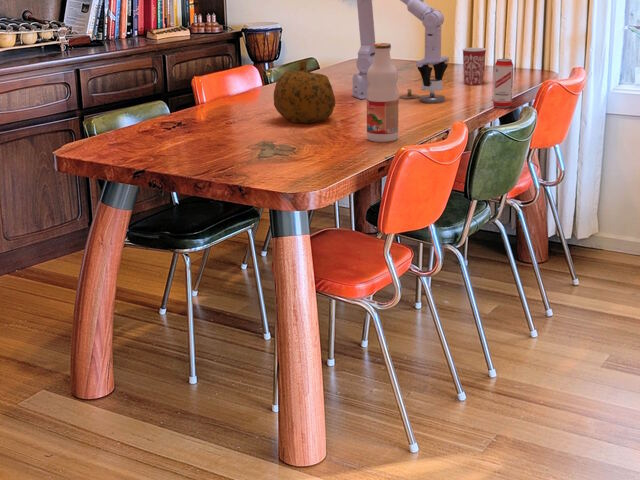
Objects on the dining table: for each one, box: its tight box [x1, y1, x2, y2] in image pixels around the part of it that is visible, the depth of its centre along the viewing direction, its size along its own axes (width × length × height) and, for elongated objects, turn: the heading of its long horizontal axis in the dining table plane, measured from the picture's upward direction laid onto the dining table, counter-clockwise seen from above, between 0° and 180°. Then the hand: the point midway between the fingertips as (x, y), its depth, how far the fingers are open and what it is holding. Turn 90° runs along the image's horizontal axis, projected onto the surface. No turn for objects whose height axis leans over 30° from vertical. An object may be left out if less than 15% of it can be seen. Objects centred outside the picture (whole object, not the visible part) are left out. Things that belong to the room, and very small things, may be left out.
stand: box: [399, 88, 420, 100], centre depth 335 cm, size 7×7×3 cm
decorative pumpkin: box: [273, 60, 336, 125], centre depth 299 cm, size 20×21×20 cm
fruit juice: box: [366, 42, 400, 143], centre depth 269 cm, size 9×9×28 cm
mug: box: [462, 47, 487, 86], centre depth 359 cm, size 13×9×14 cm
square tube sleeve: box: [421, 77, 444, 93], centre depth 326 cm, size 5×5×4 cm
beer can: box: [492, 58, 514, 109], centre depth 312 cm, size 6×6×16 cm
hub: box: [419, 91, 446, 104], centre depth 328 cm, size 9×9×4 cm
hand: (432, 85), depth 326 cm, fingers closed on square tube sleeve, 5 cm apart
